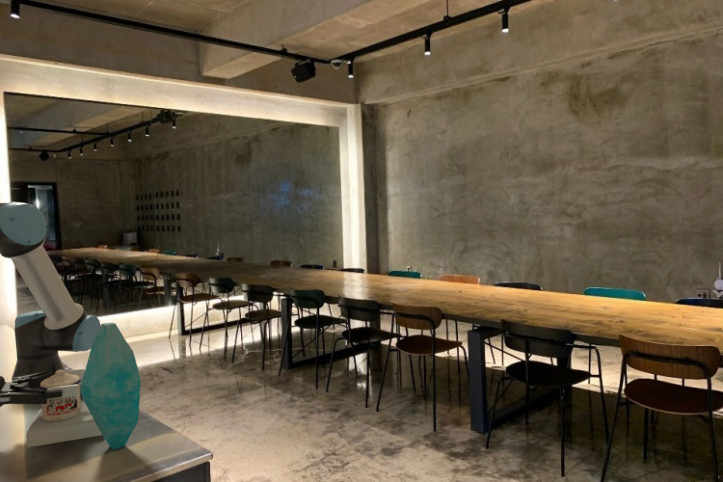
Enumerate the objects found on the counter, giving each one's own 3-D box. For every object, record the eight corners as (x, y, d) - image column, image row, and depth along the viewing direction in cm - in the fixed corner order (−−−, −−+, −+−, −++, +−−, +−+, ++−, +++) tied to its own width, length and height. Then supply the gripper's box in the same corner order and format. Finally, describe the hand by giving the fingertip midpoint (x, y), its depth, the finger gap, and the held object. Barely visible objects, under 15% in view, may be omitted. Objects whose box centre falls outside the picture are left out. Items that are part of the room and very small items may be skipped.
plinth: (40, 421, 139) (39, 406, 138) (106, 411, 144) (106, 397, 144) (27, 447, 124) (26, 431, 123) (101, 435, 130) (100, 420, 129)
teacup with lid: (42, 425, 126) (40, 379, 125) (40, 413, 134) (37, 369, 133) (96, 413, 133) (95, 369, 132) (91, 402, 141) (89, 360, 140)
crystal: (101, 467, 114) (94, 334, 111) (78, 448, 123) (71, 324, 121) (154, 448, 123) (149, 323, 120) (129, 431, 132) (123, 315, 130)
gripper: (-2, 391, 138) (87, 380, 146) (-33, 428, 115) (75, 413, 123) (-3, 363, 138) (86, 354, 146) (-35, 396, 115) (73, 382, 123)
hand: (81, 381), depth 134 cm, fingers open, 13 cm apart
